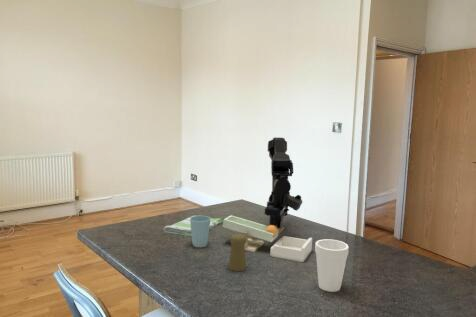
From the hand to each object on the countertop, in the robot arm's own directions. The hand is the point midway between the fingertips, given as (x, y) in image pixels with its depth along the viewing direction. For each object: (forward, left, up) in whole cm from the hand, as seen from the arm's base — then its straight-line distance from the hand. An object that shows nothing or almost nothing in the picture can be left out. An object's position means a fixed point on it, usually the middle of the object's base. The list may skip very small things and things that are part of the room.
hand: (279, 227), depth 151 cm
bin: (+11, +8, -5) cm, 14 cm away
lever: (+6, -8, 0) cm, 10 cm away
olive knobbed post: (+31, -4, -6) cm, 31 cm away
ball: (+11, 0, +2) cm, 11 cm away
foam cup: (+31, +26, -6) cm, 40 cm away
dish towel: (+1, -38, -6) cm, 39 cm away
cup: (+19, -25, -6) cm, 32 cm away
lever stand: (+11, -8, -5) cm, 14 cm away
